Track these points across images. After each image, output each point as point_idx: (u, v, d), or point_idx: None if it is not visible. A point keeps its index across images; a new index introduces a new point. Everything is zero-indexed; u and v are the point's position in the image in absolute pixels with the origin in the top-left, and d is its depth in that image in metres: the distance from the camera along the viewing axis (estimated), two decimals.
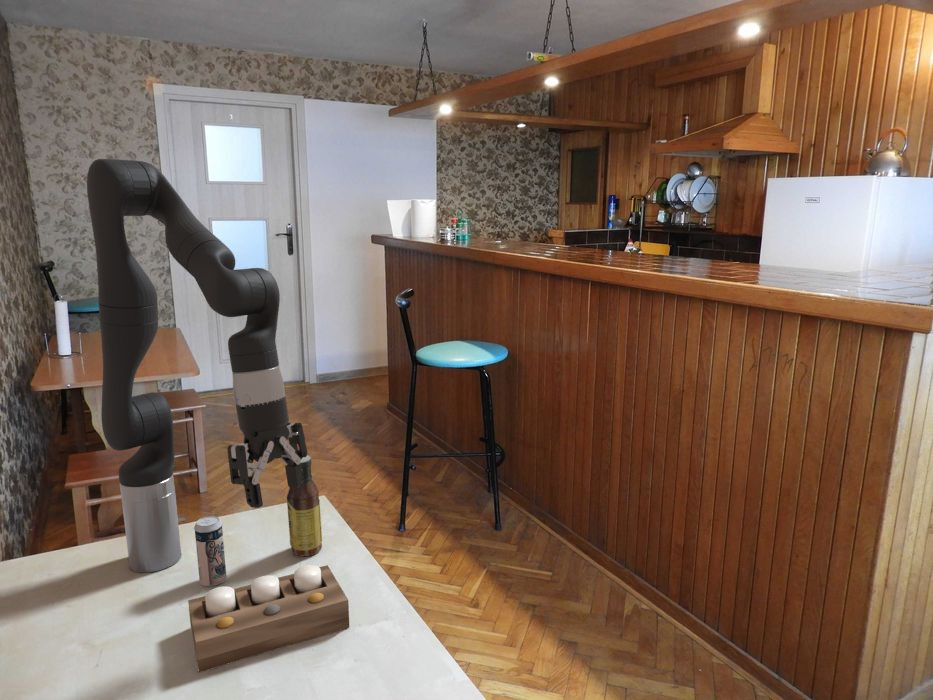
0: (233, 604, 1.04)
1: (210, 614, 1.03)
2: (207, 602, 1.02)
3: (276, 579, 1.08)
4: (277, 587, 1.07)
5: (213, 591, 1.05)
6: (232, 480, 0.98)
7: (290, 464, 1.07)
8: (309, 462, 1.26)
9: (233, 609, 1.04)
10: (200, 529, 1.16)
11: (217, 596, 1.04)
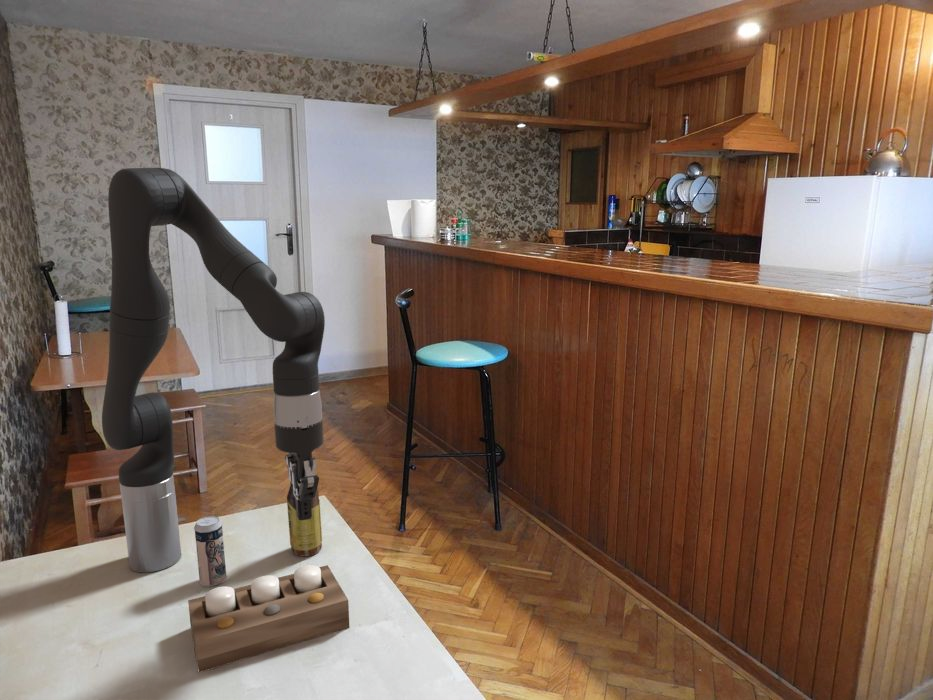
0: (233, 604, 1.04)
1: (210, 614, 1.03)
2: (207, 602, 1.02)
3: (276, 579, 1.08)
4: (277, 587, 1.07)
5: (213, 591, 1.05)
6: (301, 499, 1.04)
7: None
8: None
9: (233, 609, 1.04)
10: (200, 529, 1.16)
11: (217, 596, 1.04)
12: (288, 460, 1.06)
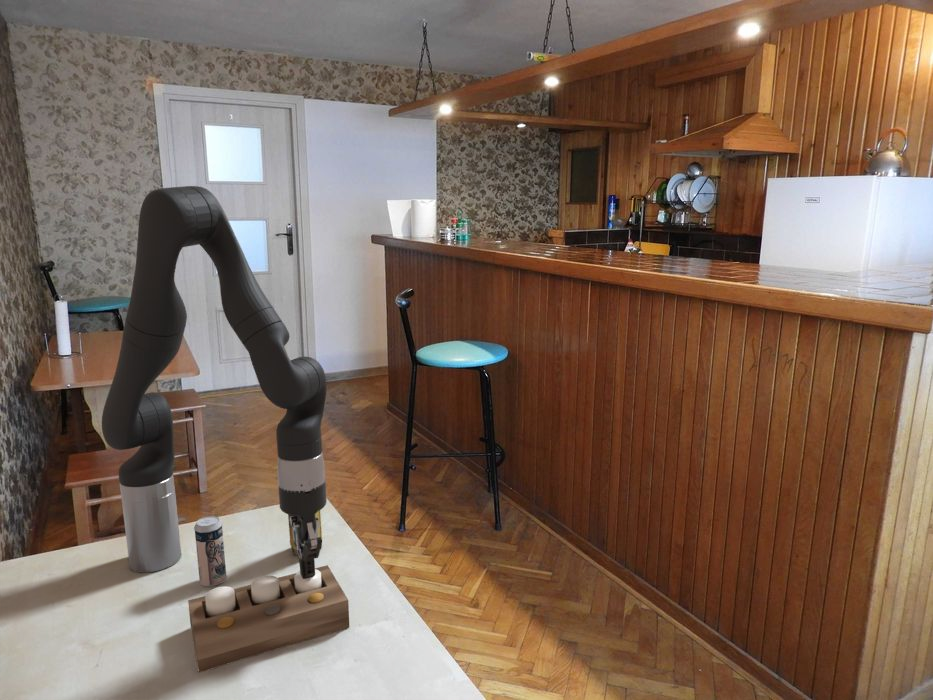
0: (233, 604, 1.04)
1: (210, 614, 1.03)
2: (207, 602, 1.02)
3: (276, 579, 1.08)
4: (277, 587, 1.07)
5: (213, 591, 1.05)
6: (305, 560, 1.06)
7: None
8: None
9: (233, 609, 1.04)
10: (200, 529, 1.16)
11: (217, 596, 1.04)
12: (292, 520, 1.08)
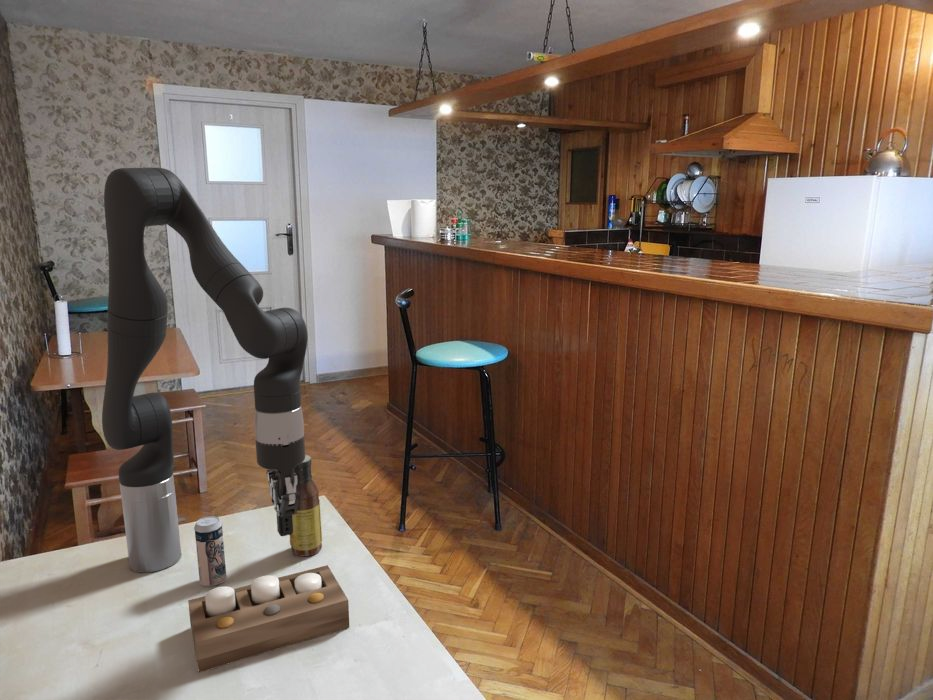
0: (233, 604, 1.04)
1: (210, 614, 1.03)
2: (207, 602, 1.02)
3: (276, 579, 1.08)
4: (277, 587, 1.07)
5: (213, 591, 1.05)
6: (283, 516, 1.04)
7: None
8: (309, 462, 1.26)
9: (233, 609, 1.04)
10: (200, 529, 1.16)
11: (217, 596, 1.04)
12: (269, 476, 1.06)
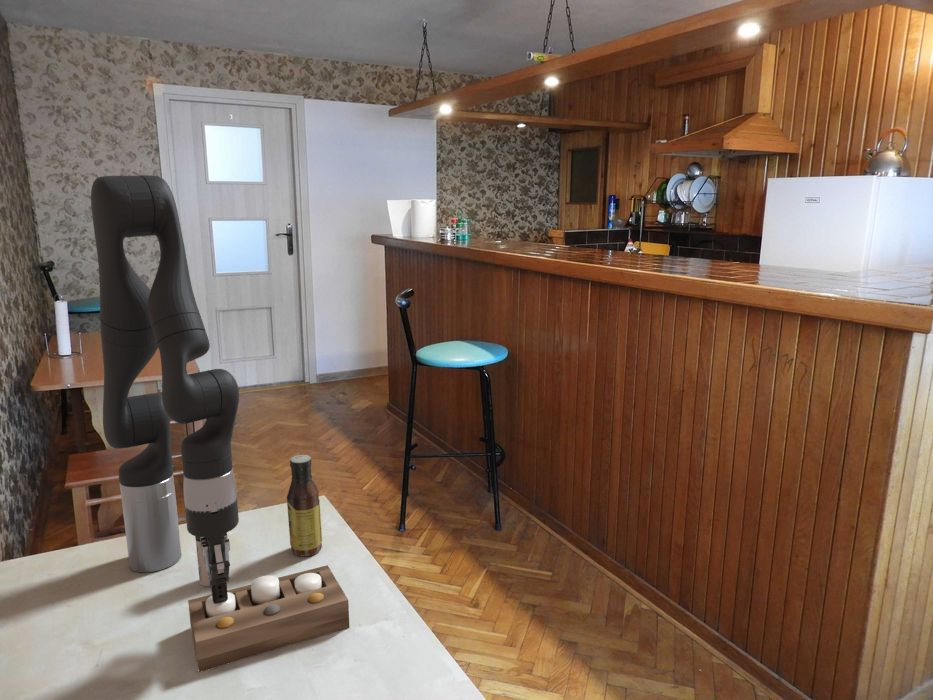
0: (233, 610, 1.04)
1: None
2: (208, 608, 1.03)
3: (276, 579, 1.08)
4: (277, 587, 1.07)
5: None
6: (214, 584, 1.00)
7: None
8: (309, 462, 1.26)
9: None
10: None
11: None
12: (201, 542, 1.02)
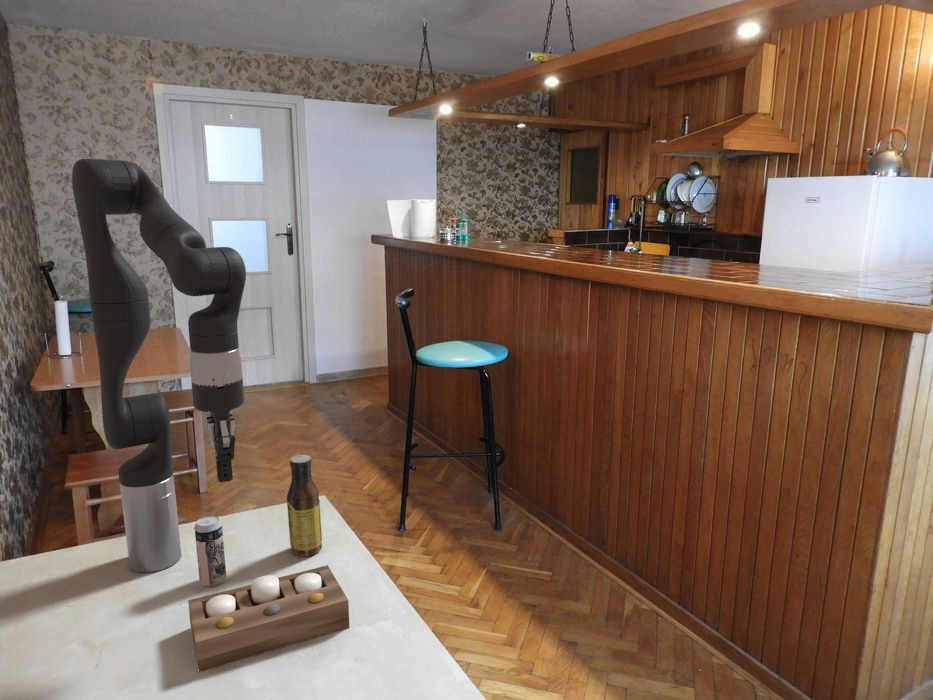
0: None
1: None
2: (208, 610, 1.03)
3: (276, 579, 1.08)
4: (277, 587, 1.07)
5: (213, 599, 1.05)
6: (219, 460, 1.02)
7: None
8: (309, 462, 1.26)
9: None
10: (200, 529, 1.16)
11: (217, 604, 1.04)
12: (207, 420, 1.04)
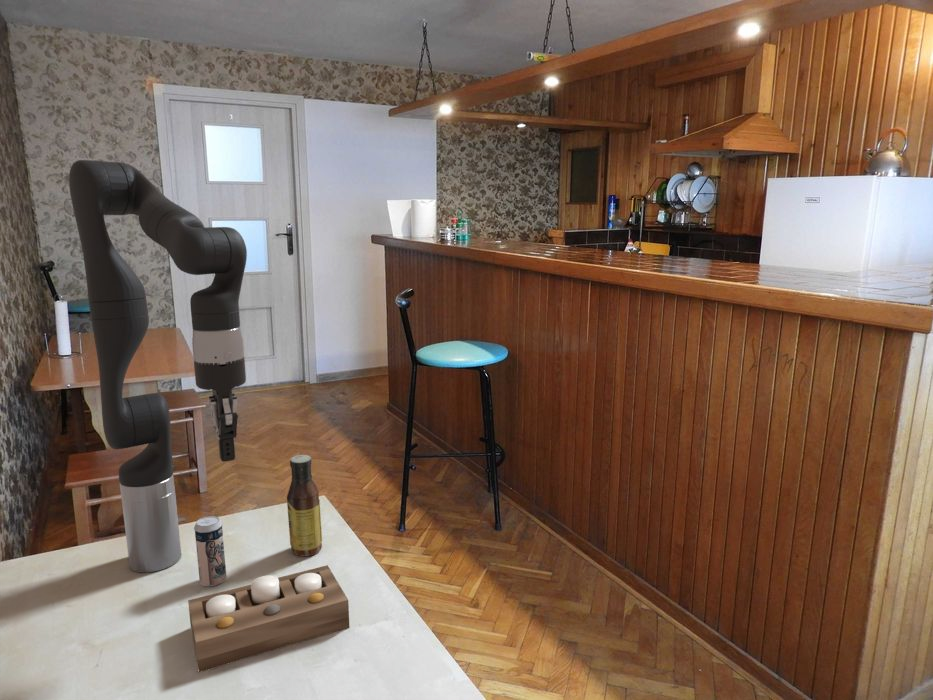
0: None
1: None
2: (208, 610, 1.03)
3: (276, 579, 1.08)
4: (277, 587, 1.07)
5: (213, 599, 1.05)
6: (222, 438, 1.03)
7: None
8: (309, 462, 1.26)
9: None
10: (200, 529, 1.16)
11: (217, 604, 1.04)
12: (209, 399, 1.05)
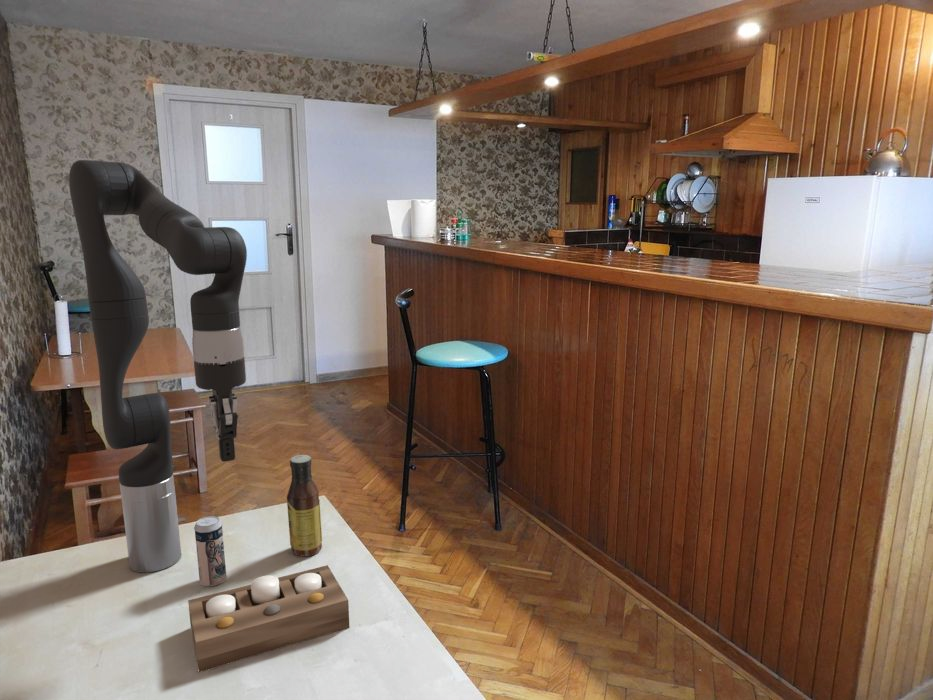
0: None
1: None
2: (208, 610, 1.03)
3: (276, 579, 1.08)
4: (277, 587, 1.07)
5: (213, 599, 1.05)
6: (222, 438, 1.03)
7: None
8: (309, 462, 1.26)
9: None
10: (200, 529, 1.16)
11: (217, 604, 1.04)
12: (209, 399, 1.05)
